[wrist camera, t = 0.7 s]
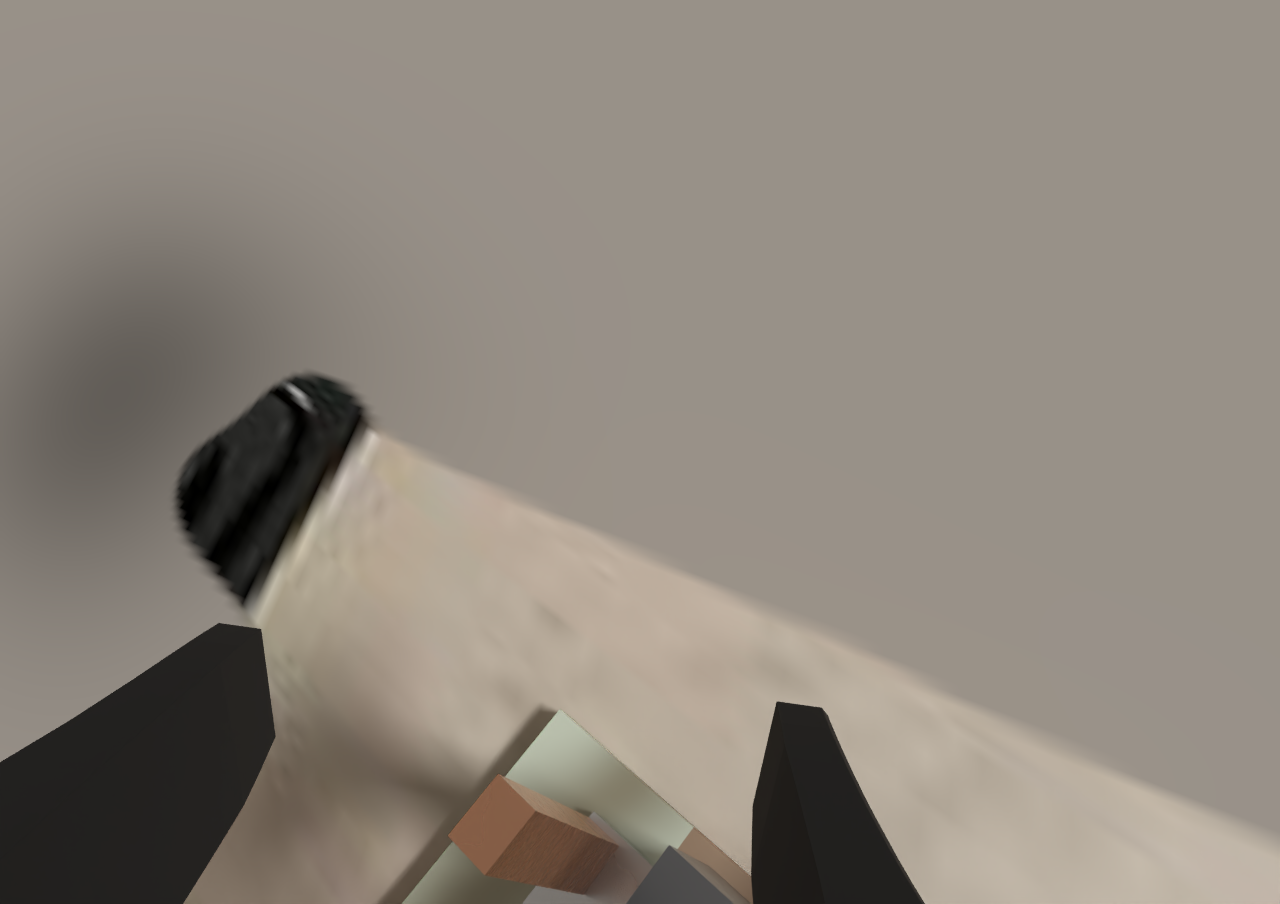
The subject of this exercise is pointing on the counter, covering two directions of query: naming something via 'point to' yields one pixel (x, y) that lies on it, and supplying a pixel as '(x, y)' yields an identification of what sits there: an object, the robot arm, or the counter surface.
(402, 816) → the counter surface
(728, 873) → the track board
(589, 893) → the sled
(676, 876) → the grey box
